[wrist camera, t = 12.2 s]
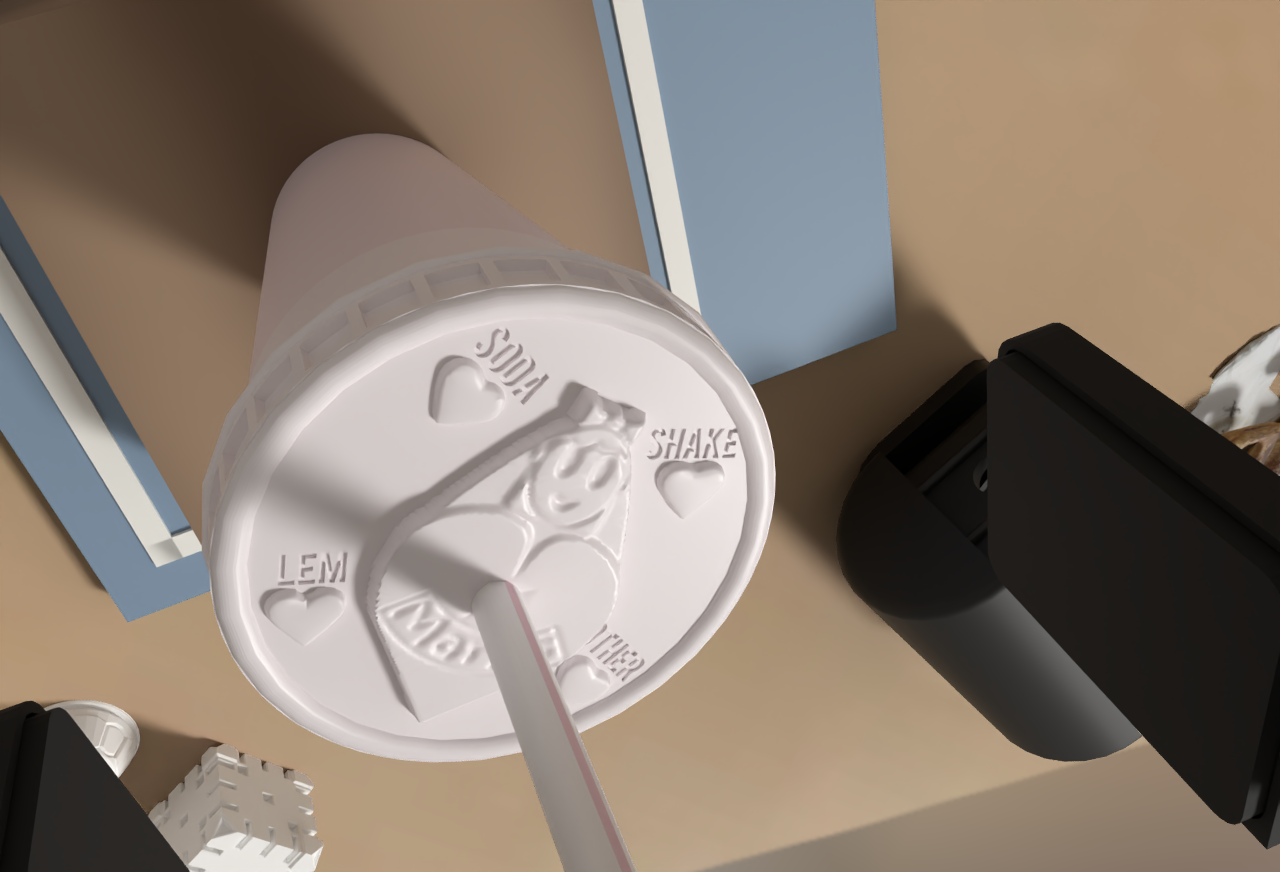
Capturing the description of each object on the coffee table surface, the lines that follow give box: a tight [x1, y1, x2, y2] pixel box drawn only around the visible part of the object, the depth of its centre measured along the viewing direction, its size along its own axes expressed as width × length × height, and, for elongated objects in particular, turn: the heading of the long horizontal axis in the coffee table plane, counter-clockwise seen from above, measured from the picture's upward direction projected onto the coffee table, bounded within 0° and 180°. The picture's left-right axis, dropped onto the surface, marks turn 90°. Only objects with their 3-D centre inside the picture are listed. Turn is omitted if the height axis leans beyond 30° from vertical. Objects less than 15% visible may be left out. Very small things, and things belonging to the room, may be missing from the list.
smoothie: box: [202, 133, 776, 872], centre depth 14 cm, size 6×6×14 cm
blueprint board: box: [0, 0, 897, 622], centre depth 23 cm, size 20×16×1 cm
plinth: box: [0, 0, 651, 545], centre depth 21 cm, size 10×10×3 cm
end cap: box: [836, 360, 1142, 762], centre depth 32 cm, size 10×7×7 cm
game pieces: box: [43, 700, 323, 872], centre depth 27 cm, size 12×3×3 cm, turn 44°
